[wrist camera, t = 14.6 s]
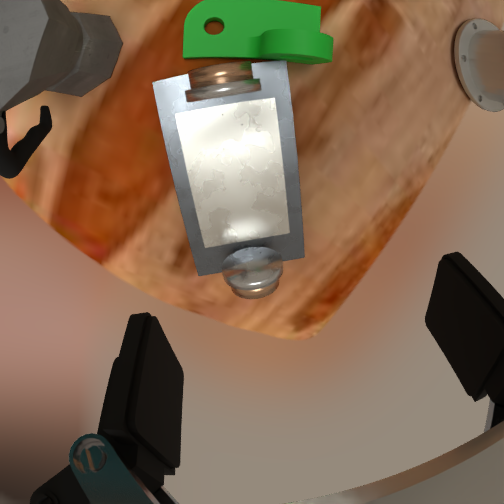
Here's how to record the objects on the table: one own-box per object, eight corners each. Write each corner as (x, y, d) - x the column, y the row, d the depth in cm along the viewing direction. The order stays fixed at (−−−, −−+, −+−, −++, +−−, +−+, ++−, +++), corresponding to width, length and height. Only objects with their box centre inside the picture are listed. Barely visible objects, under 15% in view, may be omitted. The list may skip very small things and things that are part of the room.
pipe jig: (155, 82, 25) (136, 82, 18) (282, 61, 25) (303, 55, 19) (199, 268, 36) (197, 312, 29) (301, 250, 36) (319, 290, 30)
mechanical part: (314, 10, 22) (345, -9, 16) (311, 64, 26) (342, 60, 19) (187, 3, 21) (178, -23, 14) (184, 59, 24) (174, 50, 17)
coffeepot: (42, 11, 18) (-78, -9, 3) (125, -15, 19) (38, -90, 3) (49, 143, 26) (-68, 216, 10) (129, 128, 27) (34, 192, 11)
